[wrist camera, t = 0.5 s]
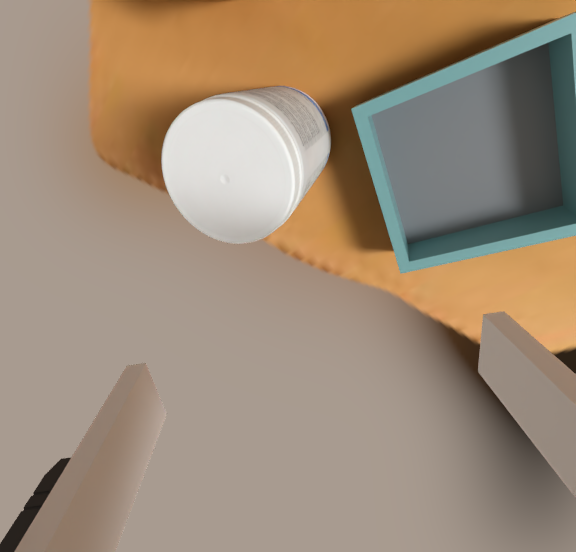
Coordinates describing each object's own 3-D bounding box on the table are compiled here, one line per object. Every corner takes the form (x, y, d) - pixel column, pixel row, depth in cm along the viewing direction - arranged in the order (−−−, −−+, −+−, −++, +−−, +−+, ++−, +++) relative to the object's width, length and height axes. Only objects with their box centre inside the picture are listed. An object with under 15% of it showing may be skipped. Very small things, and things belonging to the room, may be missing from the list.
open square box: (558, 18, 25) (590, 6, 21) (573, 209, 31) (601, 229, 26) (357, 104, 31) (351, 108, 27) (400, 251, 37) (400, 273, 33)
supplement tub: (230, 96, 34) (134, 106, 21) (326, 76, 31) (280, 75, 18) (252, 194, 38) (182, 250, 26) (338, 185, 35) (306, 243, 23)
